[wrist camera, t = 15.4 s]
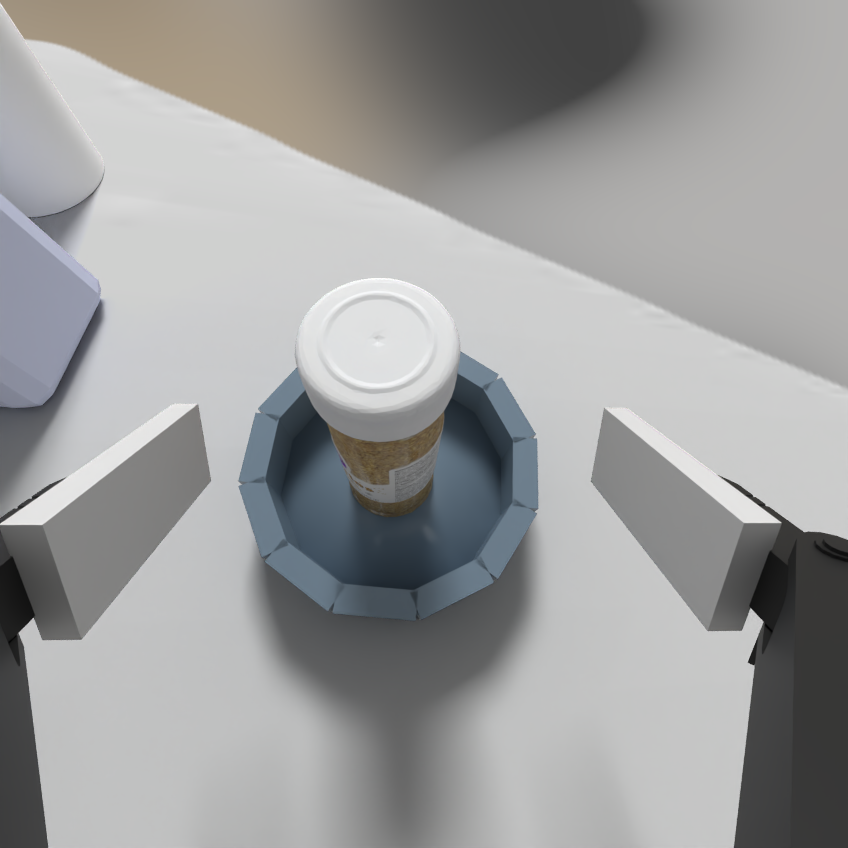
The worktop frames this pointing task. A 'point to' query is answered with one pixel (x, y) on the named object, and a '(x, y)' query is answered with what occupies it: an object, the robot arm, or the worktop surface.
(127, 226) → the worktop surface
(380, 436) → the sprinkles bottle
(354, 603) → the bowl
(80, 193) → the cup
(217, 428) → the worktop surface
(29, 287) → the soap bottle
